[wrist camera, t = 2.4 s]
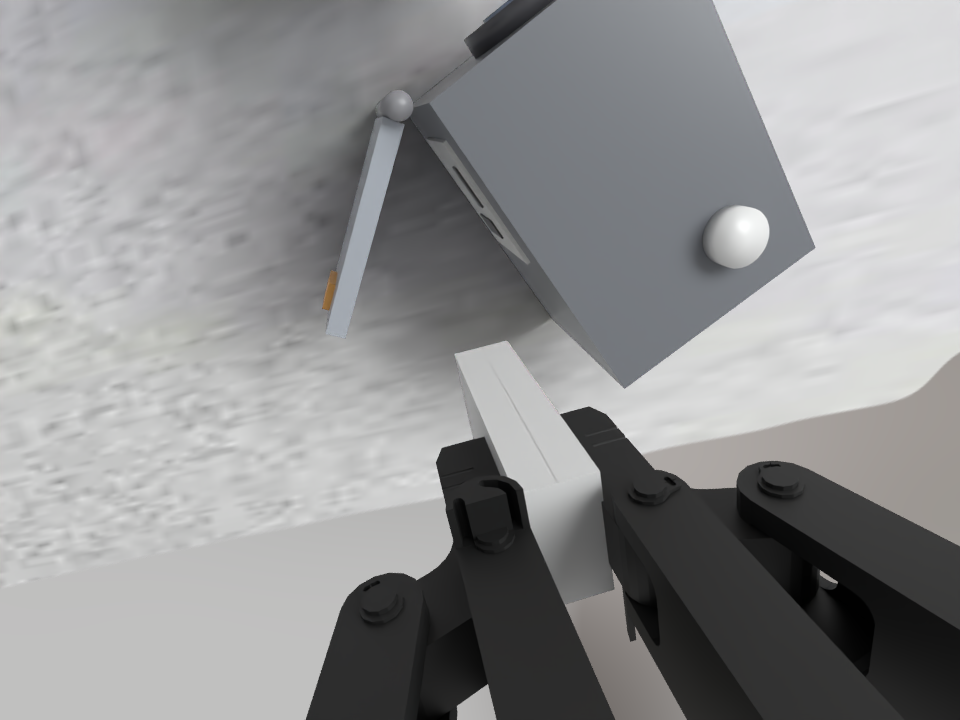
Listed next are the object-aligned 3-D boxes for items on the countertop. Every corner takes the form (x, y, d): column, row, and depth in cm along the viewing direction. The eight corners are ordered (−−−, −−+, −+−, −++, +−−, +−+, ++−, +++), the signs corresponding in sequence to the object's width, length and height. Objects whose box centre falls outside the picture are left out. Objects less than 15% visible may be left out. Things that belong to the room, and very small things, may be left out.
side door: (374, 95, 27) (383, 82, 20) (398, 104, 28) (416, 96, 20) (326, 282, 30) (317, 335, 22) (348, 288, 30) (347, 343, 23)
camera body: (389, 96, 28) (408, 81, 18) (558, -41, 27) (673, -134, 17) (548, 321, 34) (627, 399, 24) (689, 214, 33) (829, 251, 24)
